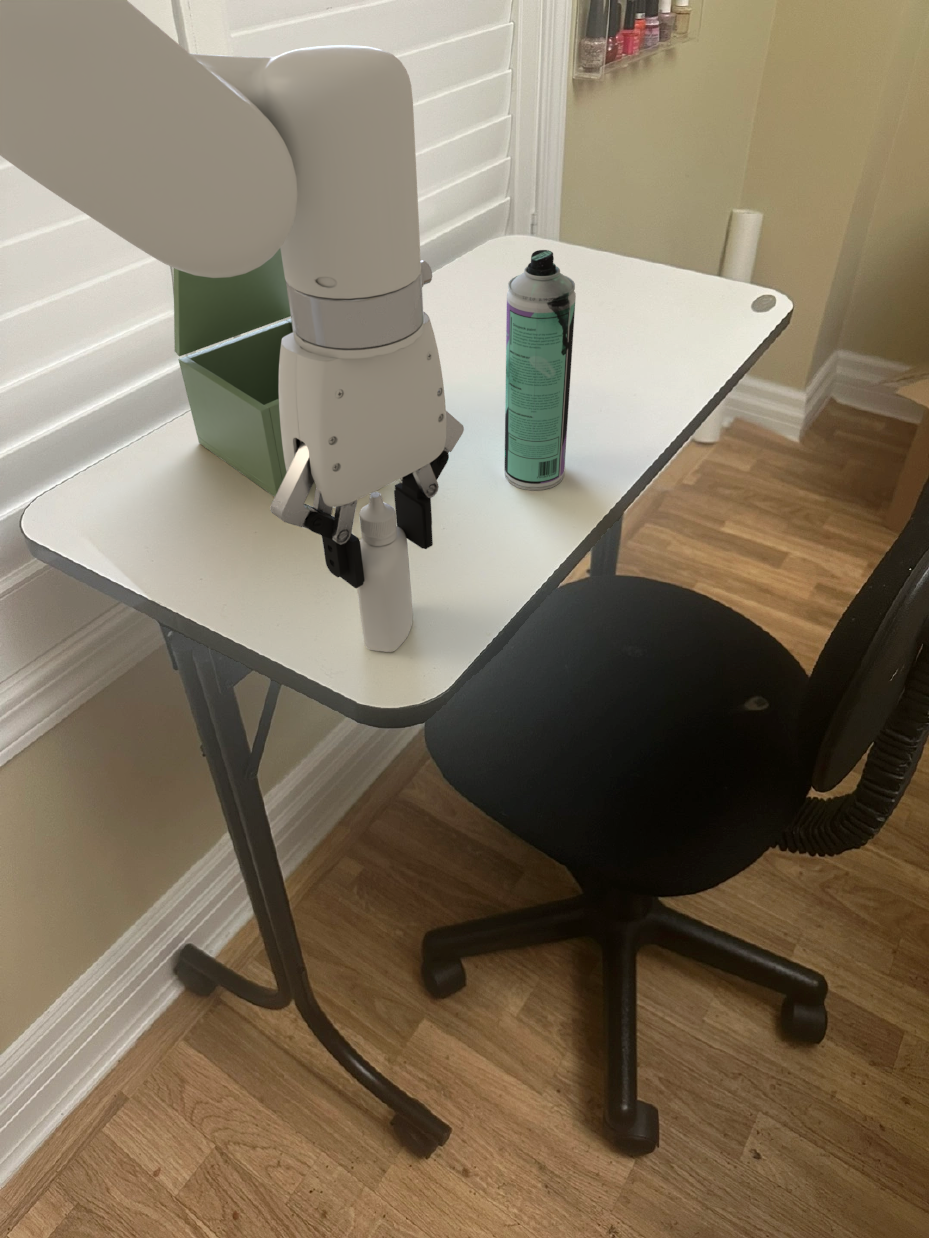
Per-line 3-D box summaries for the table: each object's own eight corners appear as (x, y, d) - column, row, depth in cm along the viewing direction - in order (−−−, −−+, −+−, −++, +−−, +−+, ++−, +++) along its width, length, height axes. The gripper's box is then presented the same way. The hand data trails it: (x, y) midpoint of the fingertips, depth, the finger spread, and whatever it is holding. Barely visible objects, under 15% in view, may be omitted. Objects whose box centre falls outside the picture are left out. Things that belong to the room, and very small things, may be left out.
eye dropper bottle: (341, 635, 67) (321, 501, 59) (393, 597, 70) (381, 465, 62) (383, 662, 65) (368, 526, 57) (435, 621, 68) (428, 487, 60)
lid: (310, 184, 76) (268, 140, 78) (178, 221, 70) (135, 172, 71) (293, 315, 88) (257, 275, 90) (179, 357, 82) (142, 312, 84)
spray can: (574, 468, 84) (590, 248, 70) (545, 497, 80) (556, 272, 67) (523, 452, 86) (529, 236, 73) (493, 479, 83) (493, 258, 69)
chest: (386, 447, 87) (379, 362, 81) (277, 499, 81) (260, 411, 75) (304, 398, 95) (291, 317, 89) (198, 443, 88) (177, 358, 82)
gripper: (426, 249, 58) (437, 489, 70) (188, 332, 49) (248, 588, 61) (510, 281, 53) (506, 530, 66) (266, 378, 45) (313, 643, 57)
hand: (381, 556), depth 63 cm, fingers closed on eye dropper bottle, 5 cm apart
